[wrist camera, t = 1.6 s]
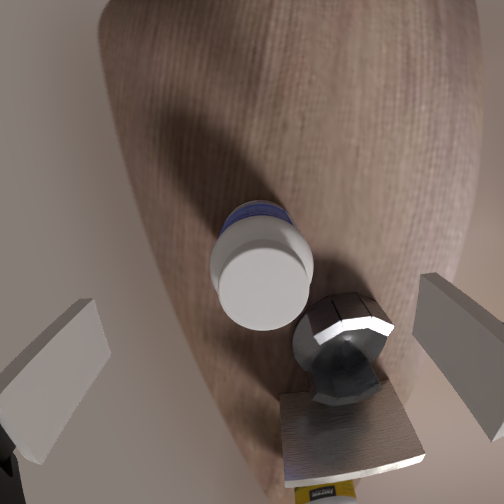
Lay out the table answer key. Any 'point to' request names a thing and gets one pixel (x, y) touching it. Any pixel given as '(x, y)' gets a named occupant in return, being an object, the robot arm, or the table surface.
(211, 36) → the table surface
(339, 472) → the cup bracket
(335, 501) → the pill bottle
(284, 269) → the pill bottle
